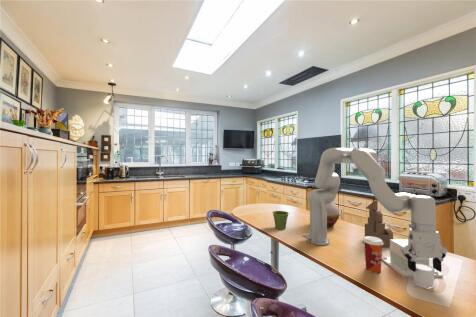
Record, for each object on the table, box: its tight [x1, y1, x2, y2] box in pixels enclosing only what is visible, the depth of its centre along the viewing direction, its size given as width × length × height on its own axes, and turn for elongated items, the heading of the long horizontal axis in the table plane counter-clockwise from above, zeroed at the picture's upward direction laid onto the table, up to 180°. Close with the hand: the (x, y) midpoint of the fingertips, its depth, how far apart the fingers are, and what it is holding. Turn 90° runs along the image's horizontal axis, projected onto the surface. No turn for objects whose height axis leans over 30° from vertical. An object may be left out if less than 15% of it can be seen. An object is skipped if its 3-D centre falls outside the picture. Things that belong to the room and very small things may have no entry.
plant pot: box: [272, 210, 290, 231], centre depth 154 cm, size 12×12×11 cm
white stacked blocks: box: [381, 238, 444, 278], centre depth 98 cm, size 16×16×11 cm
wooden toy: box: [364, 199, 394, 248], centre depth 127 cm, size 15×7×25 cm, turn 16°
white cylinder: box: [412, 263, 436, 289], centre depth 85 cm, size 7×7×7 cm
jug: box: [324, 201, 340, 228], centre depth 158 cm, size 20×18×30 cm
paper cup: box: [363, 236, 383, 274], centre depth 96 cm, size 8×8×14 cm
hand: (424, 269), depth 84 cm, fingers open, 9 cm apart
